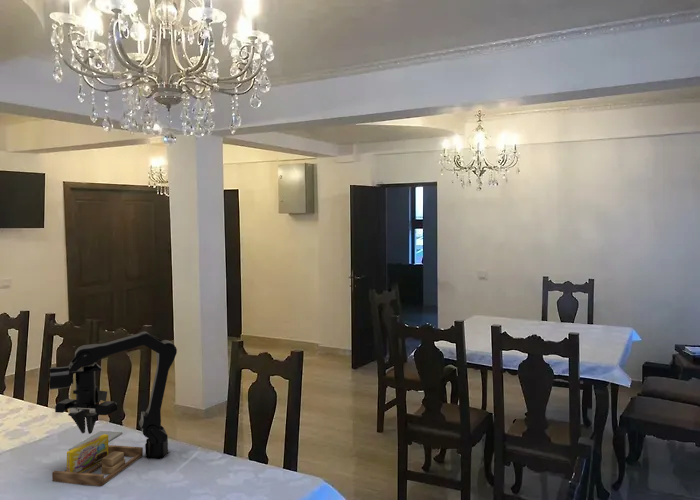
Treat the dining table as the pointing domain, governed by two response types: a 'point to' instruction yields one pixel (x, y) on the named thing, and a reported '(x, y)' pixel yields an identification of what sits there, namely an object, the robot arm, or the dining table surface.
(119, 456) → the offcut upper
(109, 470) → the offcut lower
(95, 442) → the candy box
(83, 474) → the rack
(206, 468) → the dining table surface
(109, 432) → the pad
